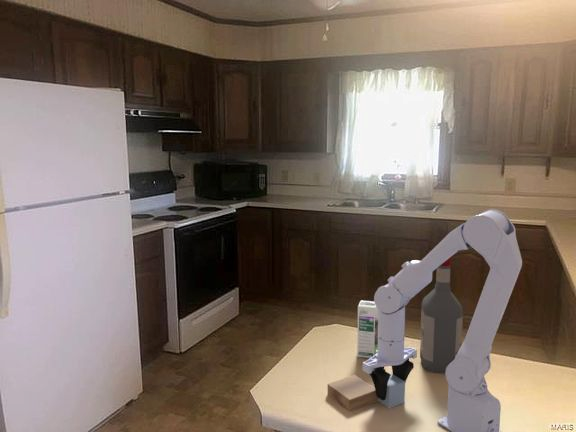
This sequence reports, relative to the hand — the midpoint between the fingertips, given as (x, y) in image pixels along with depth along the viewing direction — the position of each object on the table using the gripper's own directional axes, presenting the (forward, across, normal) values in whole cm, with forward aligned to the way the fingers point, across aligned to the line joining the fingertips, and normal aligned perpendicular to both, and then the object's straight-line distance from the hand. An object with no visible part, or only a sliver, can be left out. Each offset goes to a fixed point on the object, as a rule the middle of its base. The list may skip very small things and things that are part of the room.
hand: (389, 394), depth 103 cm
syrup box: (+2, -12, -20) cm, 24 cm away
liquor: (+2, -23, -6) cm, 24 cm away
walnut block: (+2, +6, -6) cm, 8 cm away
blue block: (+1, 0, 0) cm, 1 cm away
